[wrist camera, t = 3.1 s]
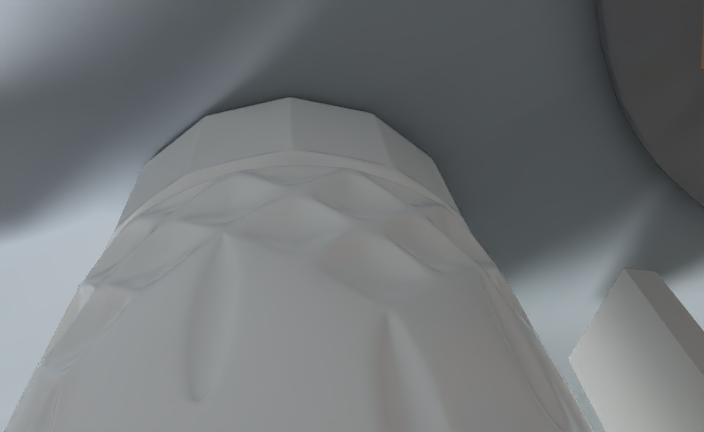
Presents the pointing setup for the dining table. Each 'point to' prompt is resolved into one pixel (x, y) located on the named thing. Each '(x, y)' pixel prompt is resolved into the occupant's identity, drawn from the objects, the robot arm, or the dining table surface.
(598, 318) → the robot arm
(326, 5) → the dining table surface
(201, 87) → the dining table surface
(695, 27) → the trivet
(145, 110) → the dining table surface
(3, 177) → the dining table surface
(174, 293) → the white cup
